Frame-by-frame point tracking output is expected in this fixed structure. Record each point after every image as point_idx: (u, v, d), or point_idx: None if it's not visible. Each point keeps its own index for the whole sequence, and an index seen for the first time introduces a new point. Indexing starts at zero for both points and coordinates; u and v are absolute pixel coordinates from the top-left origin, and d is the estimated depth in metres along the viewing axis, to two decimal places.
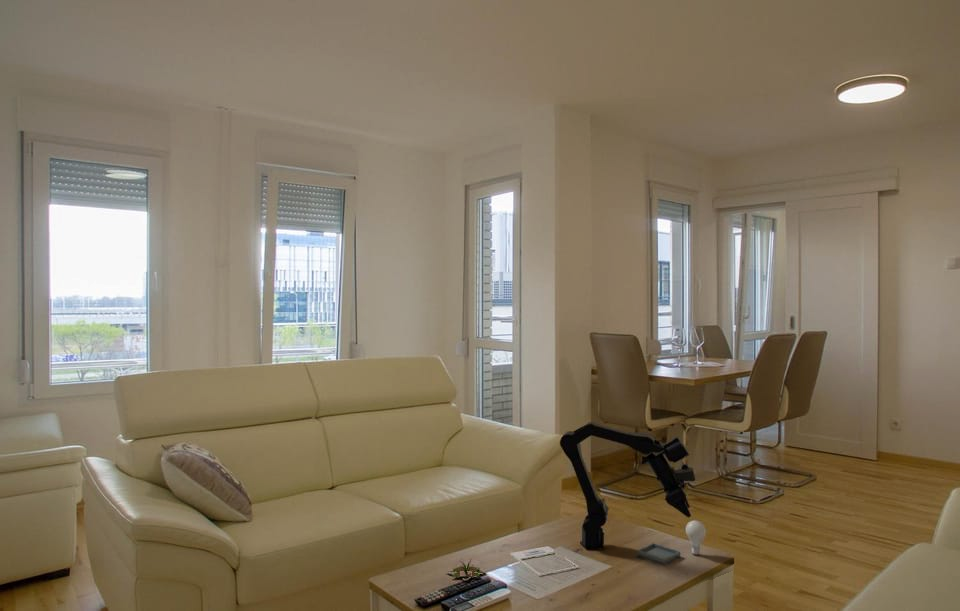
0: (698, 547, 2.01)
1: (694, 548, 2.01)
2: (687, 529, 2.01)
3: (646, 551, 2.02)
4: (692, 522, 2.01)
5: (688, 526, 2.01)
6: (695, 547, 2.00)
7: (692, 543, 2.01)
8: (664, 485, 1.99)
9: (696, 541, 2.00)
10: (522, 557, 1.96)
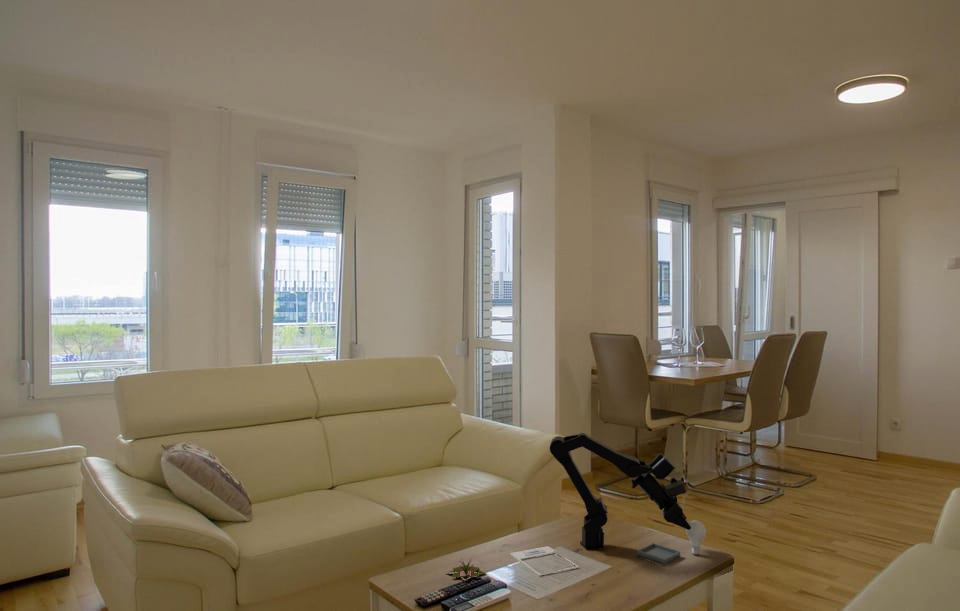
0: (698, 547, 2.01)
1: (694, 548, 2.01)
2: (687, 529, 2.01)
3: (646, 551, 2.02)
4: (692, 522, 2.01)
5: None
6: (695, 547, 2.00)
7: (692, 543, 2.01)
8: (659, 503, 2.02)
9: (696, 541, 2.00)
10: (522, 557, 1.96)
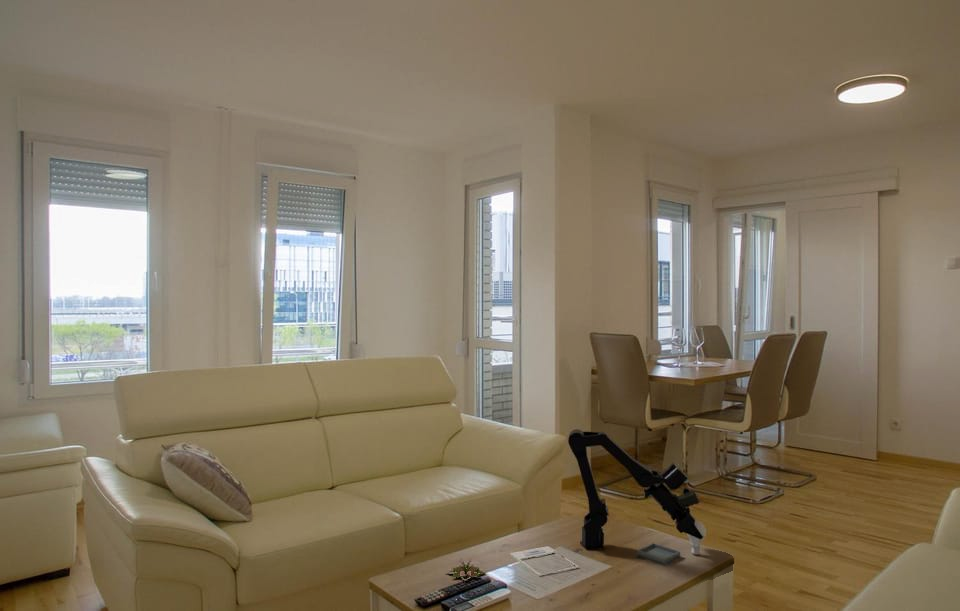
0: (698, 547, 2.01)
1: (694, 548, 2.01)
2: None
3: (646, 551, 2.02)
4: None
5: None
6: (695, 547, 2.00)
7: (692, 543, 2.01)
8: (671, 514, 2.01)
9: (696, 541, 2.00)
10: (522, 557, 1.96)
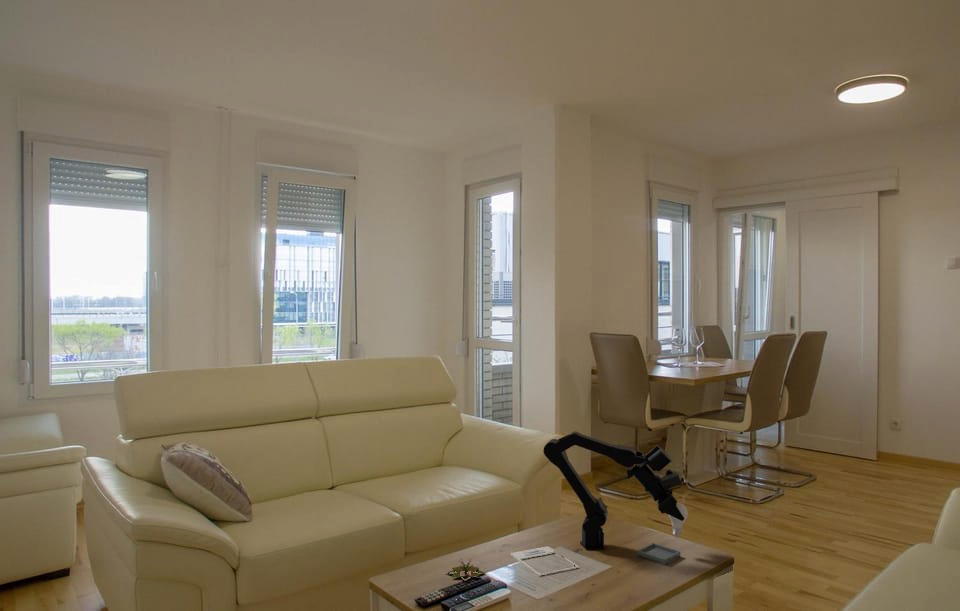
0: (679, 529, 2.00)
1: (675, 530, 2.00)
2: None
3: (646, 551, 2.02)
4: None
5: None
6: (677, 528, 2.00)
7: (673, 525, 2.00)
8: (653, 495, 2.00)
9: (678, 523, 1.99)
10: (522, 557, 1.96)
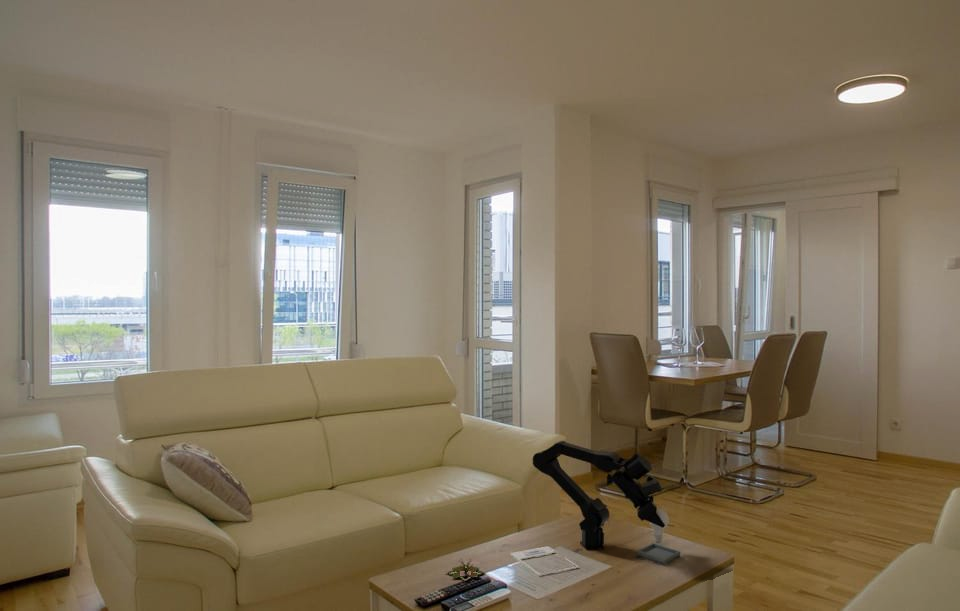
0: (660, 535, 1.99)
1: (656, 536, 1.99)
2: None
3: (646, 551, 2.02)
4: None
5: None
6: (658, 535, 1.98)
7: (654, 531, 1.99)
8: (634, 502, 1.99)
9: (658, 529, 1.98)
10: (522, 557, 1.96)
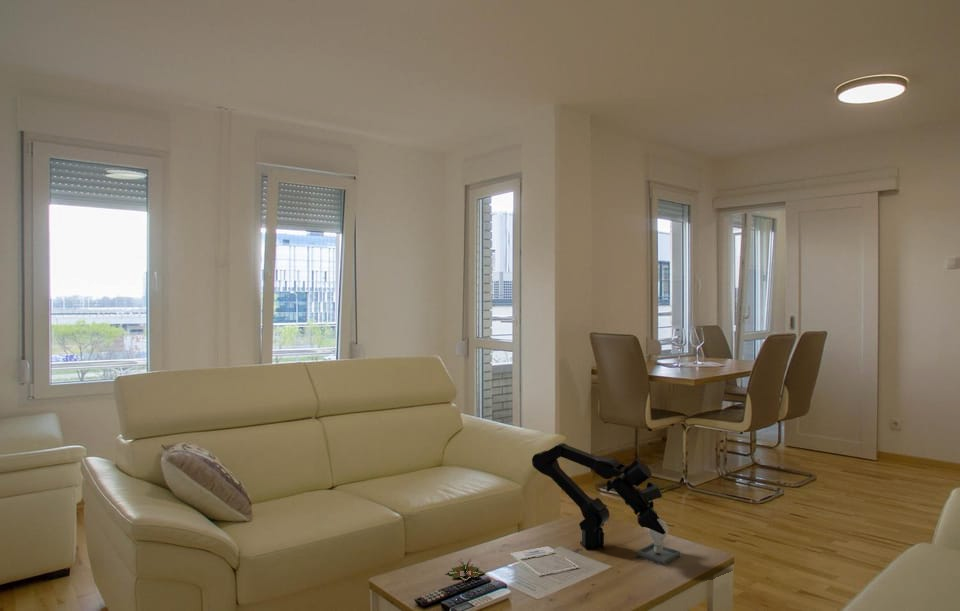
0: (660, 546, 1.99)
1: (656, 547, 1.99)
2: None
3: (646, 551, 2.02)
4: None
5: None
6: (657, 546, 1.99)
7: (654, 542, 1.99)
8: (634, 508, 1.99)
9: (658, 540, 1.98)
10: (522, 557, 1.96)
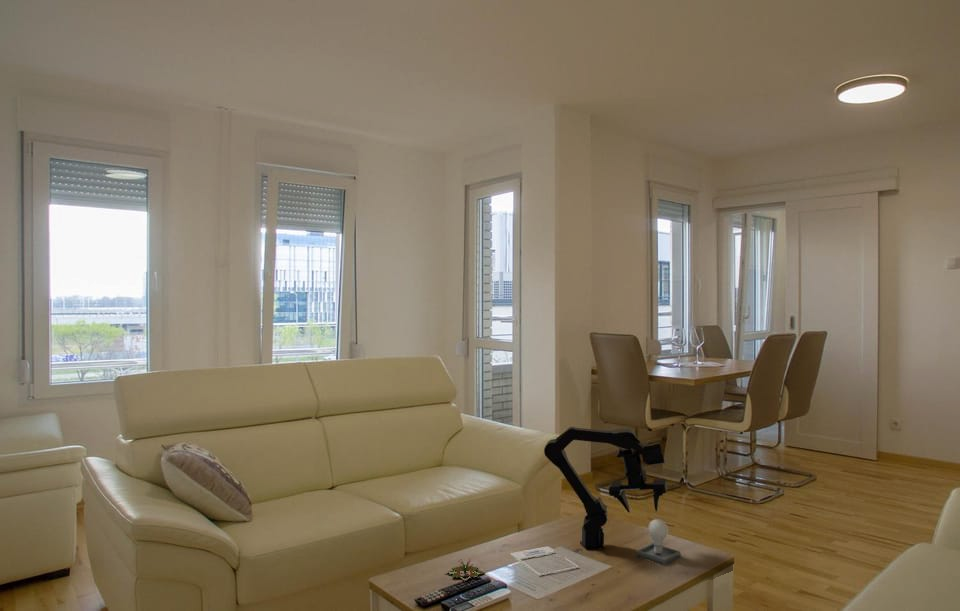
0: (660, 546, 1.99)
1: (656, 547, 1.99)
2: (649, 528, 1.99)
3: (646, 551, 2.02)
4: (654, 521, 2.00)
5: (650, 525, 1.99)
6: (657, 546, 1.99)
7: (654, 542, 1.99)
8: (641, 481, 2.03)
9: (658, 540, 1.98)
10: (522, 557, 1.96)
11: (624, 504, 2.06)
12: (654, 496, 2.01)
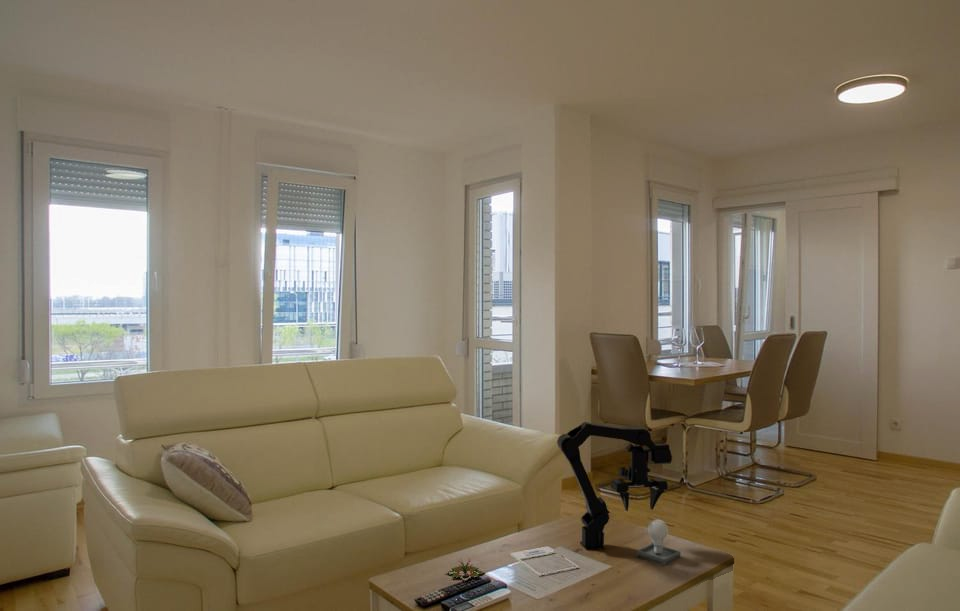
0: (660, 546, 1.99)
1: (656, 547, 1.99)
2: (649, 528, 1.99)
3: (646, 551, 2.02)
4: (654, 521, 2.00)
5: (650, 525, 1.99)
6: (657, 546, 1.99)
7: (654, 542, 1.99)
8: (647, 477, 2.08)
9: (658, 540, 1.98)
10: (522, 557, 1.96)
11: (627, 501, 2.06)
12: (658, 493, 2.07)
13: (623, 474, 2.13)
